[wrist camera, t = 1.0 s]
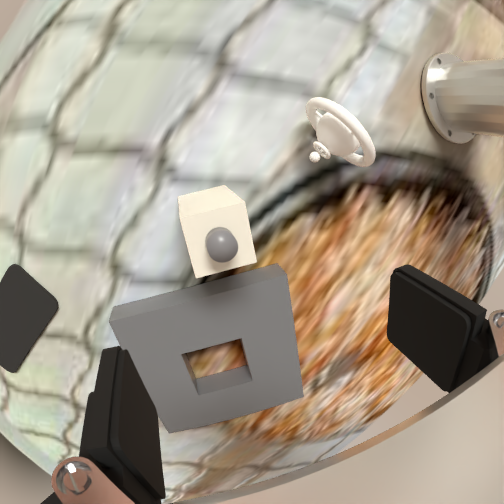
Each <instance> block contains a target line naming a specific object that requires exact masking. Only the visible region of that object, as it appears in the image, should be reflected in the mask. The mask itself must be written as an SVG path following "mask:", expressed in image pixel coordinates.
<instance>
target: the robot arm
mask: <svg viewBox="0 0 504 504" xmlns="http://www.w3.org/2000/svg"><path fill="white" fill-rule="evenodd" d="M422 96H423V101H424V106H425V109H426V112H427V115H428V117H429V119H430V121H431V123H432V125H433V126H434V128H435V129H436V131H437V132H438V133H439V134H440V135H441V136H442V137H443V138H445V139H446V140H447V141H450V142H452V143H459V144H461V143H466V142H469V141H470V140H471V139H473V138H474V136H475V135H476V134H483V135H491V136H499V137H504V58H498V59H485V60H474V61H465V62H464V61H463V60H462V59H460V58H459V57H457V56H456V55H454V54H451V53H439V54H436V55H434V56H432V57H431V58H430V59H429V60H428V61H427V63H426V65H425V67H424V70H423V75H422ZM486 311H487V310H486V309H485V308H483V307H481V306H480V305H478V304H477V303H475V302H473V301H472V300H470V299H468V298H467V297H465V296H463V295H462V294H460V293H458V292H457V291H455V290H453V289H452V288H450V287H448V286H446V285H445V284H443V283H441V282H439V281H438V280H436V279H434V278H432V277H431V276H429V275H427V274H425V273H424V272H422V271H420V270H418V269H416V268H415V267H413V266H411V265H404V266H401V267H399V268H396V269H395V270H394V271H393V274H392V275H391V278H390V298H389V313H388V325H387V337H388V339H389V341H390V342H391V343H392V344H393V345H394V346H395V347H396V348H397V349H399V350H400V351H401V352H402V353H403V354H404V355H405V356H406V357H407V358H408V359H409V360H411V361H412V362H413V363H414V364H415V365H416V366H417V367H418V368H419V369H420V370H421V371H422V372H424V373H425V374H426V375H427V376H428V377H429V378H430V379H431V380H432V381H433V382H434V383H435V384H437V385H438V386H439V387H440V388H441V389H442V390H443V391H447V392H449V394H447V395H446V396H444V397H443V398H441V399H440V400H438V401H437V402H435V403H434V404H432V405H430V406H429V407H427V408H426V409H424V410H422V411H421V412H419V413H417V414H416V415H414V416H412V417H410V418H409V419H407V420H405V421H403V422H402V423H400V424H398V425H396V426H394V427H393V428H391V429H389V430H387V431H385V432H383V433H381V434H379V435H377V436H375V437H373V438H371V439H369V440H367V441H365V442H363V443H361V444H359V445H357V446H354V447H352V448H350V449H348V450H346V451H343V452H341V453H339V454H336V455H334V456H332V457H329V458H327V459H324V460H322V461H319V462H317V463H314V464H312V465H309V466H307V467H304V468H301V469H298V470H296V471H293V472H290V473H287V474H284V475H281V476H278V477H275V478H272V479H268V480H265V481H262V482H258V483H255V484H251V485H248V486H244V487H241V488H237V489H233V490H229V491H225V492H221V493H217V494H213V495H208V496H204V497H199V498H194V499H189V500H184V501H179V502H175V503H170V504H504V310H497V311H494V312H492V313H491V314H490V316H489V319H488V320H487V319H485V315H486ZM51 482H52V488H53V489H54V493H53V494H51V495H50V496H49V497H48V498H47V499H46V500H44V501H43V502H42V503H41V504H161V499H165V496H166V494H165V486H164V478H163V469H162V460H161V450H160V438H159V426H158V414H157V410H156V407H155V405H154V403H153V401H152V399H151V397H150V395H149V393H148V391H147V389H146V387H145V385H144V383H143V381H142V379H141V377H140V375H139V373H138V371H137V369H136V367H135V365H134V362H133V360H132V358H131V356H130V354H129V352H128V350H127V349H125V350H122V348H121V347H120V346H117V347H112V348H107V349H103V351H102V355H101V359H100V364H99V369H98V374H97V379H96V385H95V390H94V392H91V393H90V394H89V397H88V401H87V407H86V413H85V419H84V425H83V431H82V438H81V445H80V453H79V457H71V458H67V459H66V460H64V461H62V462H61V463H60V464H59V465H58V466H57V467H56V468H55V470H54V471H53V474H52V478H51Z"/></svg>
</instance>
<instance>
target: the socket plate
mask: <svg viewBox="0 0 504 504" xmlns="http://www.w3.org/2000/svg"><path fill="white" fill-rule="evenodd" d="M109 323H110V325H111V327H112V329H113V332H114V334H115V336H116V338H117V340H118V342H119V344H120V346H121V348H122V350H125V349H127V350H128V352H129V354H130V356H131V358H132V360H133V362H134V365H135V367H136V369H137V371H138V373H139V375H140V377H141V379H142V381H143V383H144V385H145V387H146V389H147V391H148V393H149V395H150V397H151V399H152V401H153V403H154V405H155V407H156V410H157V414H158V416H159V418H160V419H161V421H162V423H163V424H164V426H165V428H166V429H167V431H168V432H169V433H173V432H178V431H183V430H188V429H193V428H197V427H202V426H206V425H210V424H214V423H218V422H222V421H226V420H230V419H234V418H237V417H241V416H244V415H248V414H251V413H255V412H258V411H262V410H265V409H268V408H271V407H274V406H278V405H281V404H284V403H287V402H290V401H293V400H295V399H298V398H301V397H304V395H303V387H302V379H301V372H300V364H299V356H298V349H297V341H296V334H295V327H294V320H293V313H292V306H291V299H290V292H289V285H288V279H287V274H286V273H285V272H284V270H283V269H282V268H281V267H280V266H279V265H278V263H276V264H273V265H269V266H266V267H262V268H258V269H255V270H251V271H247V272H244V273H240V274H236V275H233V276H229V277H225V278H222V279H218V280H214V281H210V282H207V283H203V284H199V285H195V286H192V287H188V288H184V289H180V290H177V291H173V292H169V293H165V294H161V295H157V296H154V297H150V298H146V299H142V300H138V301H134V302H130V303H126V304H122V305H119V306H115V307H113V309H112V313H111V316H110V320H109ZM236 339H240V341H241V345H242V348H243V352H244V356H245V360H246V363H247V365H246V366H242V367H239V368H235V369H232V370H228V371H225V372H221V373H217V374H213V375H209V376H206V377H202V378H198V379H196V378H195V375H194V373H193V371H192V368H191V366H190V363H189V361H188V358H187V356H186V353H188V352H192V351H196V350H200V349H203V348H207V347H211V346H215V345H218V344H222V343H226V342H229V341H233V340H236Z"/></svg>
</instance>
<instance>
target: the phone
mask: <svg viewBox="0 0 504 504" xmlns="http://www.w3.org/2000/svg"><path fill="white" fill-rule="evenodd" d="M57 309H58V302H57V300H56V298H55V297H54V296H53V295H52V294H50V293H49V292H48V291H47V290H46V289H45V288H44V287H42V286H41V285H40V284H39V283H38V282H37V281H36V280H35V279H34V278H33V277H31V276H30V275H29V274H28V273H27V272H26V271H25V270H24V269H23V268H22V267H21V266H19V265H17V264H13V265H11V266H10V267H9V268H8V269H7V271H6V273H5V275H4V276H3V278H2V280H1V282H0V365H1V366H2V367H3V368H4V369H6V370H7V371H9V372H11V373H14V372H16V371H17V369H18V367H19V366H20V365H21V363H22V361H23V360H24V359H25V357H26V355H27V354H28V353H29V351H30V349H31V347H32V346H33V344H34V343H35V341H36V340H37V338H38V337H39V335H40V334H41V332H42V331H43V330H44V328H45V327H46V325H47V324H48V322H49V321H50V320H51V318H52V317H53V315H54V314H55V313H56V311H57Z"/></svg>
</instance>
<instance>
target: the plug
mask: <svg viewBox="0 0 504 504" xmlns="http://www.w3.org/2000/svg"><path fill="white" fill-rule="evenodd" d="M178 204H179V216H180V221H181V225H182V229H183V233H184V237H185V240H186V244H187V248H188V252H189V255H190V259H191V262H192V266H193V270H194V273H195V277H196V278H200V277H203V276H207V275H211V274H215V273H218V272H222V271H226V270H230V269H233V268H237V267H241V266H244V265H248V264H252V263H256V262H257V261H256V256H255V251H254V246H253V241H252V236H251V230H250V225H249V220H248V215H247V210H246V205H245V202H244V201H243V200H242V199H241V198H240V197H238V196H237V195H236V194H235V193H233V192H232V191H231V190H230V189H229V188H227V187H226V186H225V185H222V186H218V187H214V188H210V189H206V190H201V191H197V192H193V193H189V194H186V195H182V196H178Z"/></svg>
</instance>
